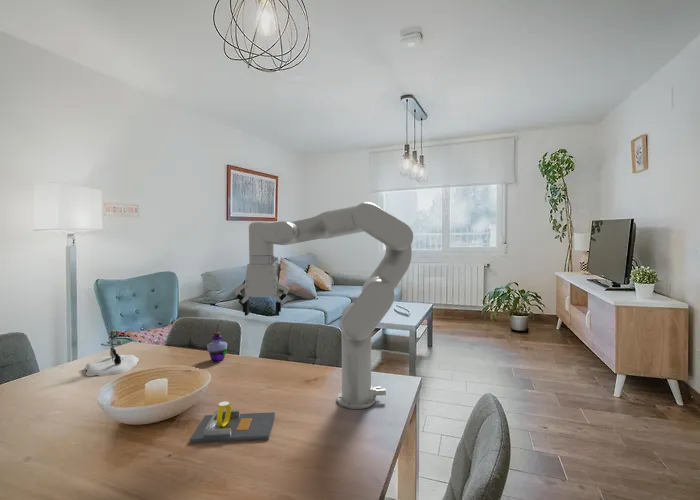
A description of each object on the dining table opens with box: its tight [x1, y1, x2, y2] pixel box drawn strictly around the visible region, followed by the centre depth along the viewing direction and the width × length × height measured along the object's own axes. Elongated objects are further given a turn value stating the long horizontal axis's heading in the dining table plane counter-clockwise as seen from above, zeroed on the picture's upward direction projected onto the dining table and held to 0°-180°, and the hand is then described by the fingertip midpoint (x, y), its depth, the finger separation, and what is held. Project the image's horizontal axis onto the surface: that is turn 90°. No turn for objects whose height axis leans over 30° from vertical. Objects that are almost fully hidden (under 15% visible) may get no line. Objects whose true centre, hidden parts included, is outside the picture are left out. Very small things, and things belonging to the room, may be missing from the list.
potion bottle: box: [206, 331, 228, 363], centre depth 152 cm, size 9×9×12 cm
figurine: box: [84, 329, 140, 377], centre depth 144 cm, size 20×18×16 cm
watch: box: [217, 401, 232, 427], centre depth 97 cm, size 6×3×6 cm, turn 175°
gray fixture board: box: [189, 409, 276, 444], centre depth 97 cm, size 20×12×3 cm, turn 94°
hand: (262, 314), depth 113 cm, fingers open, 9 cm apart
